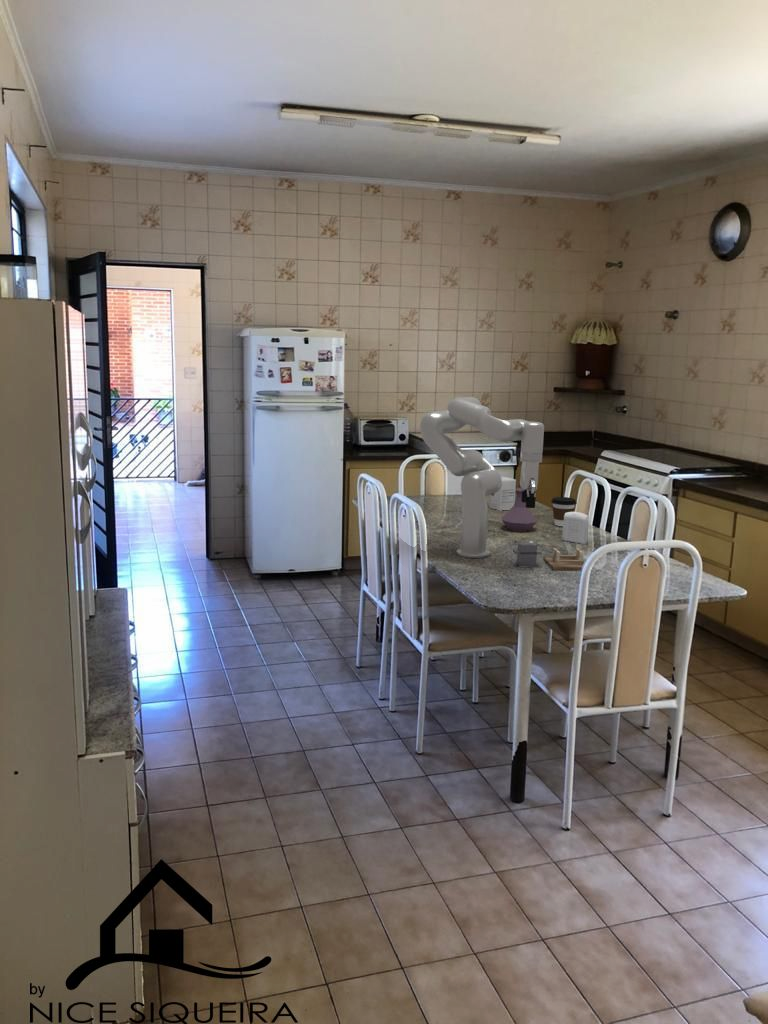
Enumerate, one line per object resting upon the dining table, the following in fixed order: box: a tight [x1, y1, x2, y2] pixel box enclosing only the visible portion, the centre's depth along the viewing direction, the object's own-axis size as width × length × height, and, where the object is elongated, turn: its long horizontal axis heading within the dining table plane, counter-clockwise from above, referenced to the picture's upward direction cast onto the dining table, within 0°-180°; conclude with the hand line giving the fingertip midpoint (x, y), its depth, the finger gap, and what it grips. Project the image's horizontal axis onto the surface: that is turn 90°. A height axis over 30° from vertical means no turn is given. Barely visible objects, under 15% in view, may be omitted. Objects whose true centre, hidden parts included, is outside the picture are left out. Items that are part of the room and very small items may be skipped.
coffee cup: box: [550, 496, 577, 527], centre depth 359 cm, size 11×11×12 cm
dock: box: [543, 547, 585, 571], centre depth 296 cm, size 14×14×6 cm
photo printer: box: [561, 511, 590, 545], centre depth 330 cm, size 10×4×12 cm, turn 56°
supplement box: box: [488, 476, 517, 512], centre depth 391 cm, size 9×9×15 cm
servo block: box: [512, 540, 543, 567], centre depth 295 cm, size 4×10×9 cm, turn 93°
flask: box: [500, 482, 538, 532], centre depth 350 cm, size 16×16×20 cm
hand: (528, 504), depth 289 cm, fingers open, 9 cm apart
